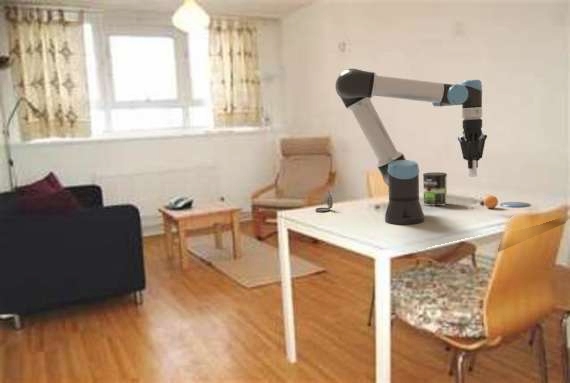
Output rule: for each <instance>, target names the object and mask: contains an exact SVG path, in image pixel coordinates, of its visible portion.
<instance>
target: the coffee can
mask: <svg viewBox="0 0 570 383" xmlns="http://www.w3.org/2000/svg"><path fill="white" fill-rule="evenodd" d="M422 176H423V205H424V204H427V205H444V204H447V202H448V201H447V196H448V195H447V193H448V192H447V190H448V189H447V177H448V174H447V173H446V172H436V171H435V172H425V173H423V174H422ZM444 206H445V205H444Z"/></svg>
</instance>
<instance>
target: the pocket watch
mask: <svg viewBox="0 0 570 383" xmlns="http://www.w3.org/2000/svg"><path fill="white" fill-rule="evenodd" d="M327 192H328V193H327V195H326V205H327V207H317V208H315V211H316V212H317V213H318V212H319V213H325V212H329V211H330V210H331V209H332V208H333V205H334V202H333V200H334V199H333V196H332V194H331V193H330V192H331V190H330V189H328V190H327Z"/></svg>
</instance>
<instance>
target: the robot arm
mask: <svg viewBox="0 0 570 383" xmlns="http://www.w3.org/2000/svg"><path fill="white" fill-rule="evenodd" d="M482 85H483V84H482V80H480V79H470V80H463V81H461V83H460V84H459V83H455V84H450V83H443V82H434V81H426V80H418V79H410V78H409V79H408V78H403V77H402V78H399V77H393V76H383V75H377V74H376V72H372V71H366V70H363V69H362V70H361V69H358V68H347V69H345V70H343V71H342V72H340V73H339V75H338V77H337V79H336V81H335V91H336V93H337V95H338V96H339V97H340V99H341V101H342V102H343V105H344V106H345V108H346V110H349V111H351V113H353V115H354V117H355V119H356V121H357V122H358V125H359V127H360V129H361V130H362V132H363V134H364V136H365V138H366V140H367V142H368V144H369V145H370V148H371V150H372V152H373V153H374V155H375V157H376V159H377V165H376V166H377V168H378V170H379V172H380V174H381V176H382V180H383V182H384V183H385V184H386V185H387V187H388V204H387V207H386V211H385V214H384V222H386V223H388V224H393V225H395V224H396V225H414V224H415V225H416V224H420V223H423V222H424V221H425V213H424V212H423V208H422V204H421V203H420V202H421V201H420V176H419V175H420V168H419V164H418V162H416V161H415V160H410V159H406V157H405V155H404V154H403V152H401V151H398V150H397V148H396V146H395V144H394V143H393V140H392V139H391V136H390V135H389V133H388V131H387V130H386V129H387V128H385V125H384V124H383V121H382V120H381V118H380V116H379V114H378V112H377V111H376V110H377V109H376V108H375V106H374V105H373V103H372V100H371V99H372V98H373V97H383V98H392V99H398V100H399V99H400V100H401V99H402V100H408V101H416V102H417V101H418V102H425V103H426V102H427V103H431V105H432V106H433V107H447V106H449V107H451V106H460V105H461V107H462V108H461V109H462V111H461V112H462V113H461V114H462V116H461V118H462V119H463V120H462V129H463V131H462V135H460V136H458V137H457V140H458V142H459V145H460V149H461V154H462V158H463V160H466V161H467V168H468V174H469V175H468V176H469V177H473V178H474V177H477V176H478V174H477V169H478V167H479V161H480V160H481V159H482V158H483V155H484V150H485V144H486V140H487V138H488V135H487V134H484V133H483V130H482V128H483V119H482V118H483V86H482Z"/></svg>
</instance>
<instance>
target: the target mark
mask: <svg viewBox="0 0 570 383" xmlns="http://www.w3.org/2000/svg"><path fill="white" fill-rule="evenodd" d="M531 205H532V204H531V203H528V202H524V201H523V202H521V201H506V202H500V203H499V206H501V207H505V208H528V207H530V206H531Z"/></svg>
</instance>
